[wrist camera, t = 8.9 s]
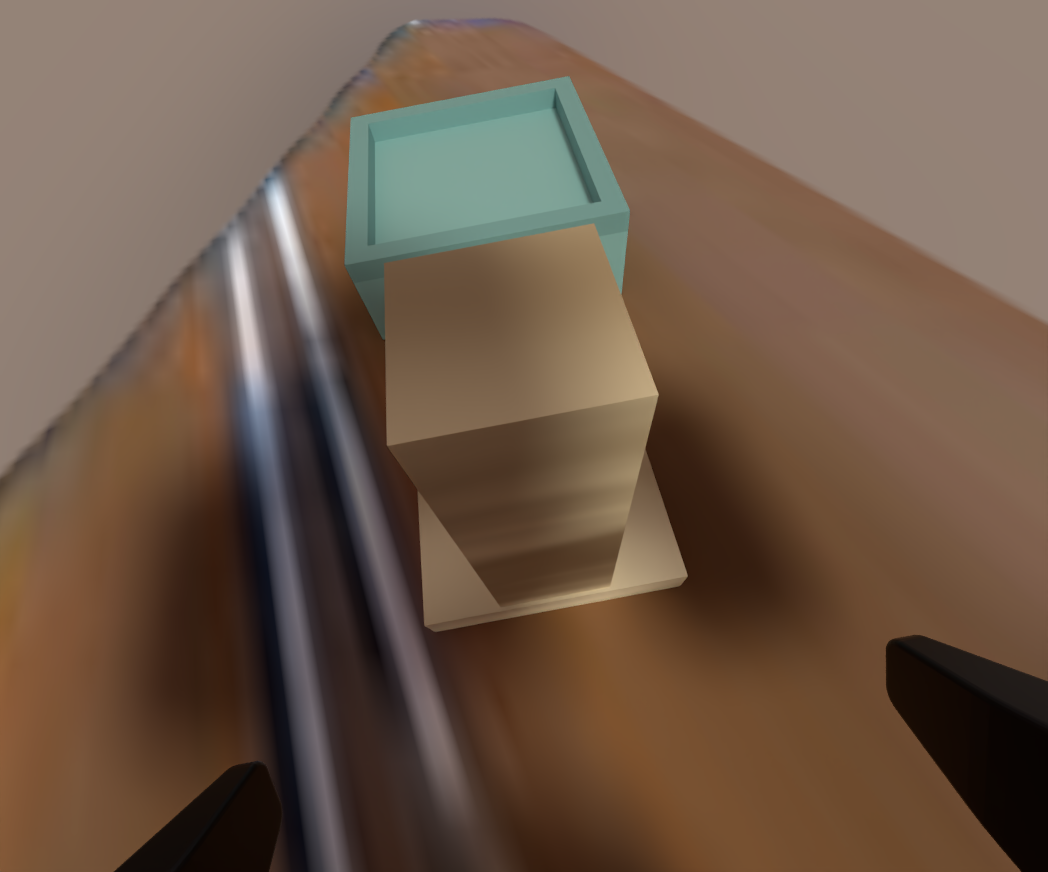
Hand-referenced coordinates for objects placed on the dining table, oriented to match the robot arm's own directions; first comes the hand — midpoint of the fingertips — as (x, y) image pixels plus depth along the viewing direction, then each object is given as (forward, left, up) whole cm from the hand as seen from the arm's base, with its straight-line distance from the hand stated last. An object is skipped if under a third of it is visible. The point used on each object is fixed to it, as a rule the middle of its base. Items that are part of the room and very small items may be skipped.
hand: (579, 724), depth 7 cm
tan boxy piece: (+3, +6, -7) cm, 9 cm away
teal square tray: (+8, +18, -6) cm, 21 cm away
